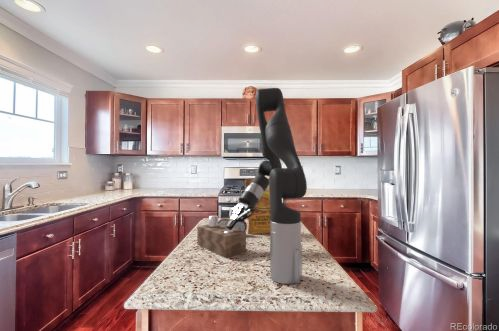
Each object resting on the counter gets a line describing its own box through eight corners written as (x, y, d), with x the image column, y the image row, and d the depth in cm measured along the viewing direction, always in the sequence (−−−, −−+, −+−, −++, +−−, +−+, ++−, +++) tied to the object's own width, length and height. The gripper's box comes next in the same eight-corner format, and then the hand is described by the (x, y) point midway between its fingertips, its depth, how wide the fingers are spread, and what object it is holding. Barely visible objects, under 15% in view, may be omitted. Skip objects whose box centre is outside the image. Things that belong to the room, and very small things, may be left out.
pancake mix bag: (243, 231, 132) (243, 178, 132) (277, 229, 136) (277, 178, 137) (245, 235, 125) (245, 178, 126) (281, 232, 130) (281, 178, 130)
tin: (247, 234, 126) (247, 217, 127) (246, 236, 123) (246, 219, 123) (217, 233, 128) (217, 217, 128) (216, 235, 125) (216, 218, 125)
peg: (219, 234, 109) (219, 216, 109) (211, 236, 106) (212, 217, 106) (214, 233, 112) (214, 215, 112) (206, 234, 109) (207, 216, 109)
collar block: (245, 252, 100) (246, 231, 100) (225, 257, 93) (225, 236, 93) (216, 240, 116) (216, 223, 116) (197, 244, 109) (197, 226, 109)
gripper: (237, 189, 112) (213, 220, 104) (257, 190, 102) (233, 225, 94) (246, 200, 115) (224, 231, 107) (266, 202, 105) (244, 237, 97)
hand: (228, 228), depth 100 cm, fingers closed
